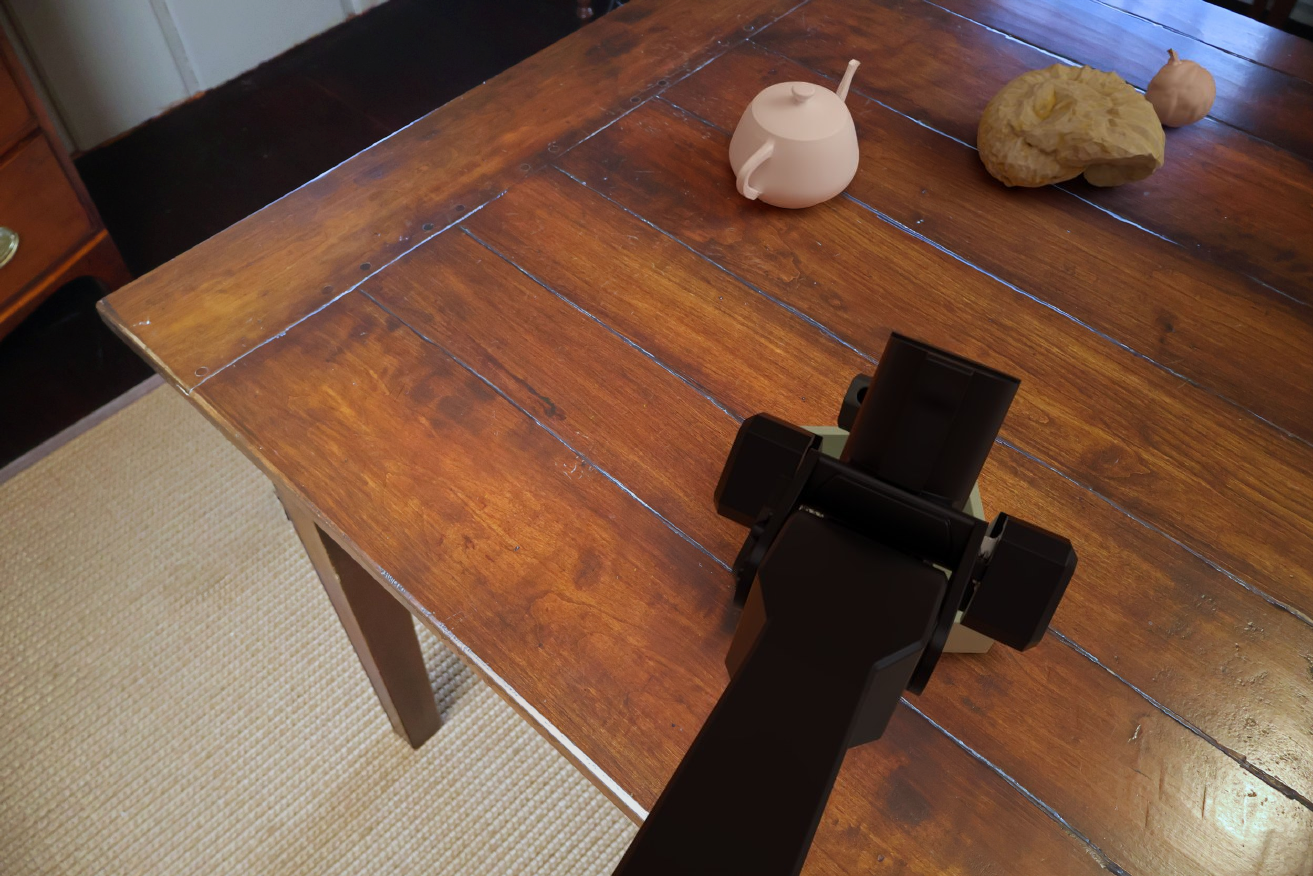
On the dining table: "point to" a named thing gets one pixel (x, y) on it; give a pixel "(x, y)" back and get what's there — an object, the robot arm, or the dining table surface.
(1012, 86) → the seashell
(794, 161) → the teapot
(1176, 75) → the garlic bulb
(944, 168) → the dining table surface
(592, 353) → the dining table surface
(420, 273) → the dining table surface
